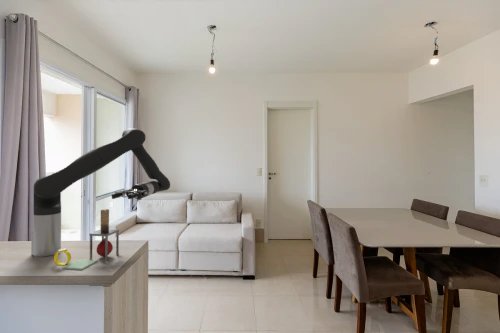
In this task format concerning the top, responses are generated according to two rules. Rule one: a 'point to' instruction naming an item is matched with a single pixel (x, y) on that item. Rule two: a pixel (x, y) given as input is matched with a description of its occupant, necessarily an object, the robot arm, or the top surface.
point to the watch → (66, 254)
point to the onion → (101, 248)
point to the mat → (80, 264)
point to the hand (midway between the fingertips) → (120, 196)
